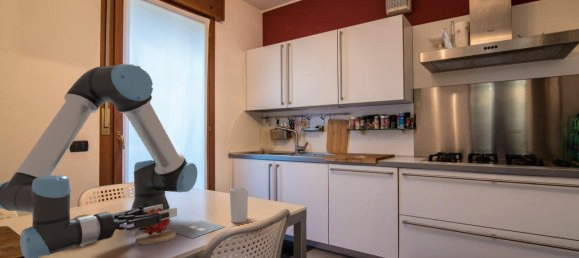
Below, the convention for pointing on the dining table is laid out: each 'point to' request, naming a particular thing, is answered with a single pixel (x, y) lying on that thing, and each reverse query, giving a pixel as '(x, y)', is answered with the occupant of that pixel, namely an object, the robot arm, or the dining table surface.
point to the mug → (239, 204)
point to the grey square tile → (196, 229)
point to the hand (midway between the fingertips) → (169, 210)
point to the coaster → (155, 237)
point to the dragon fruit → (155, 227)
